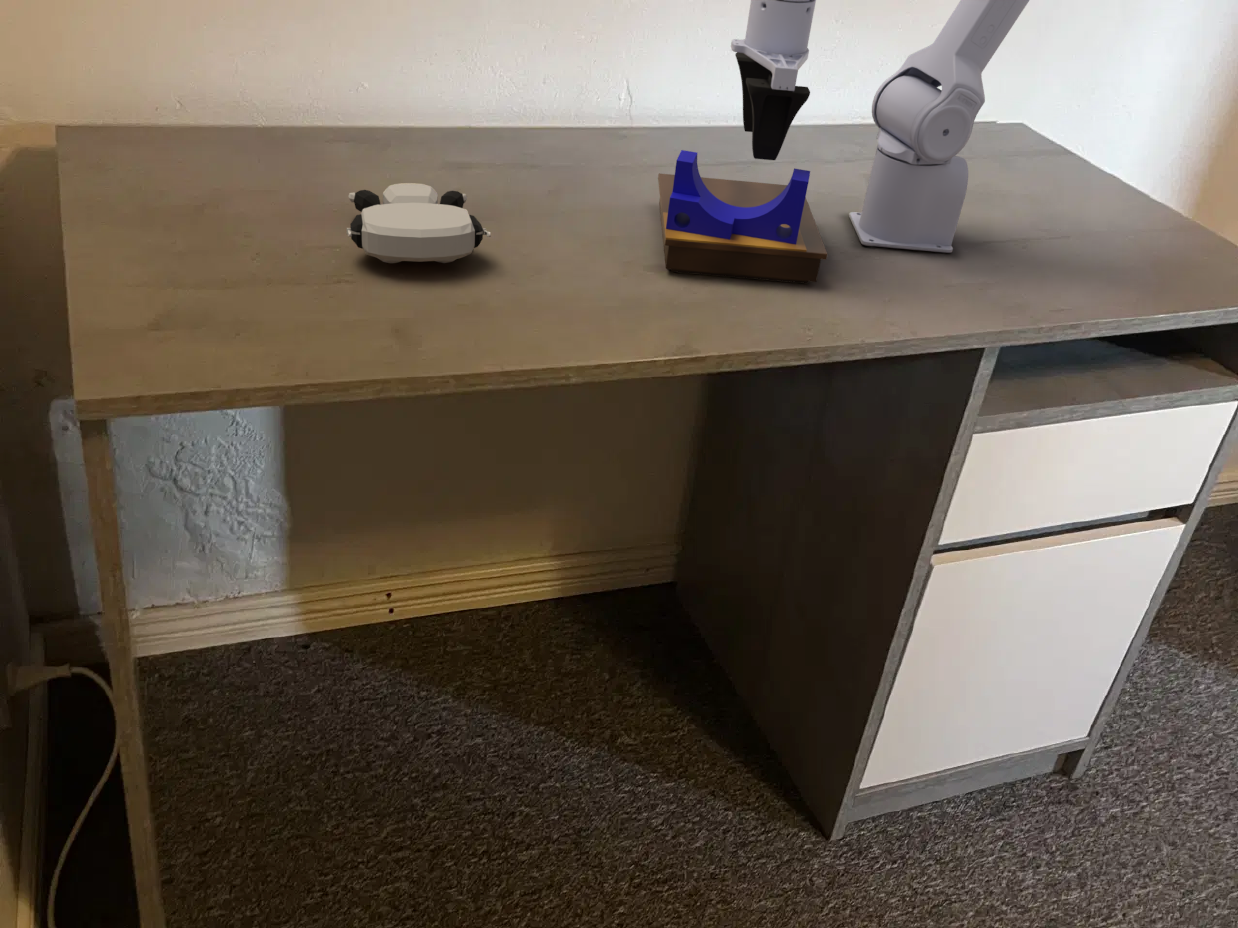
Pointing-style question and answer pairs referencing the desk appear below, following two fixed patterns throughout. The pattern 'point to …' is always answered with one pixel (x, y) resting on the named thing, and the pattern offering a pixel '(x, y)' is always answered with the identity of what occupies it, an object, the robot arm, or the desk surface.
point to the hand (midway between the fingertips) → (759, 144)
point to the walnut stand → (742, 239)
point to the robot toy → (414, 224)
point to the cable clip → (733, 207)
